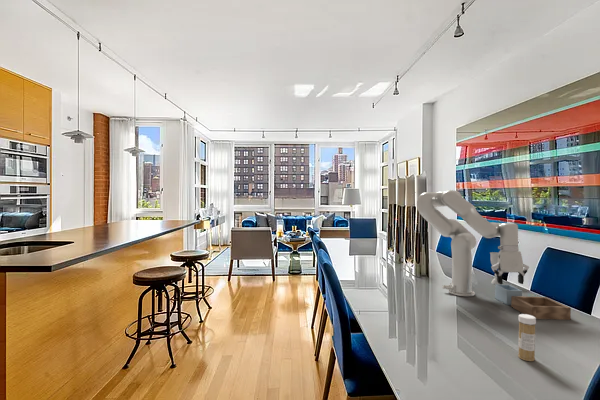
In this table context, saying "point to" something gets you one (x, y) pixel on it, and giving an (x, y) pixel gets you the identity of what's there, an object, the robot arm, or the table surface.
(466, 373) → the table surface
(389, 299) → the table surface
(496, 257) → the chalice
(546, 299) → the walnut crate
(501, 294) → the block
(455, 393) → the table surface
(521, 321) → the pill bottle
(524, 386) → the table surface
